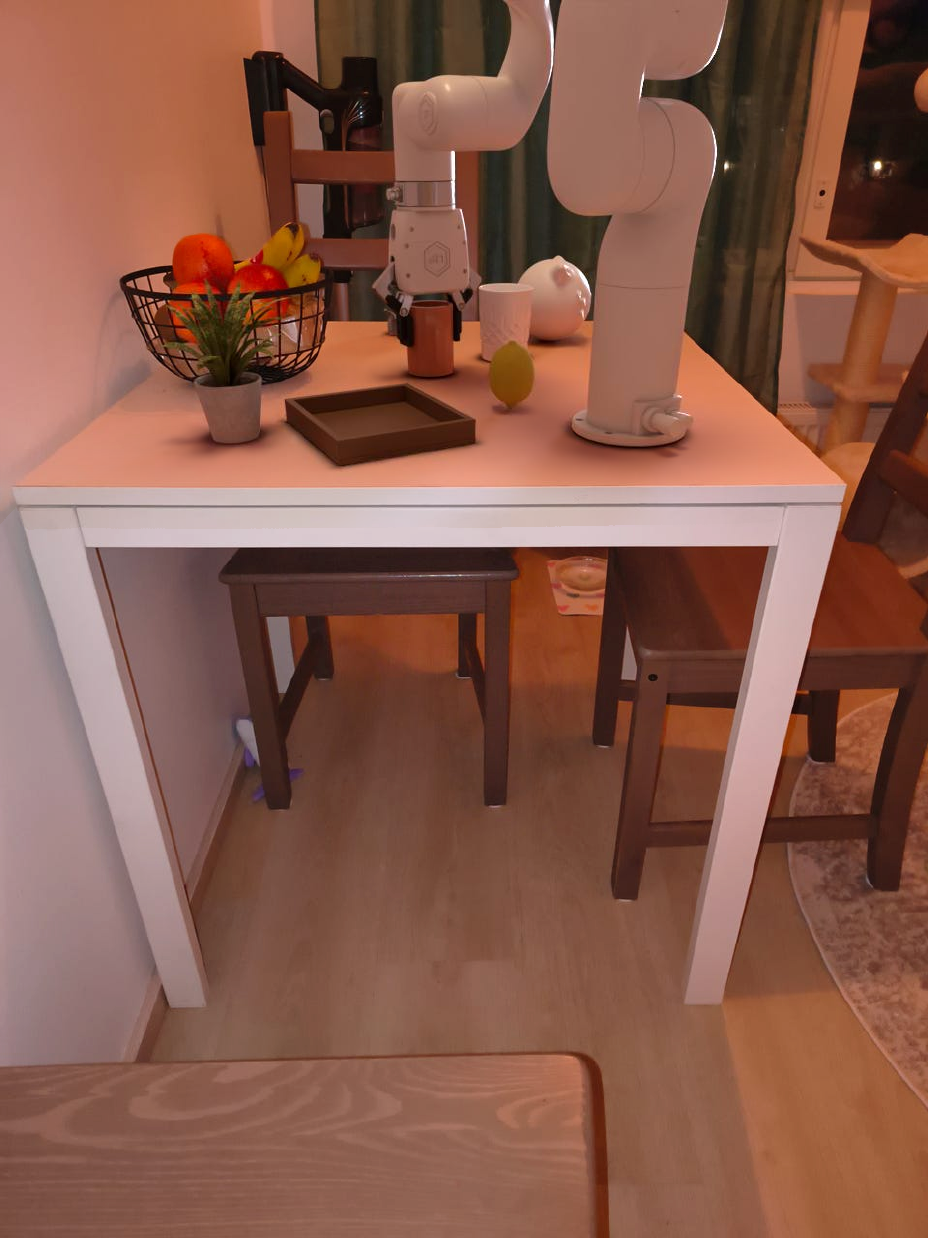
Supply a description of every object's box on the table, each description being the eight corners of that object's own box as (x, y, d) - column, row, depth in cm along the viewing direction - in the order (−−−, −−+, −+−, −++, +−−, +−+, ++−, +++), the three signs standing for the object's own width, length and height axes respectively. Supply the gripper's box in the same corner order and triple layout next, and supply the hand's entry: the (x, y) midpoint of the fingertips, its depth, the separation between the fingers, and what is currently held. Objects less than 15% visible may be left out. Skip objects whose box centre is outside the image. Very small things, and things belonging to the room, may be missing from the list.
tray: (475, 442, 89) (475, 419, 88) (339, 466, 83) (337, 440, 82) (408, 403, 103) (407, 382, 101) (286, 420, 96) (284, 398, 95)
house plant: (287, 461, 84) (268, 290, 76) (153, 460, 84) (119, 290, 76) (312, 420, 96) (298, 270, 88) (195, 420, 97) (170, 270, 89)
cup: (461, 373, 115) (460, 304, 111) (419, 378, 112) (417, 308, 108) (441, 364, 120) (439, 298, 116) (400, 369, 117) (397, 302, 113)
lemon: (482, 412, 99) (482, 343, 95) (496, 400, 104) (497, 334, 100) (526, 416, 98) (528, 346, 94) (538, 404, 102) (541, 337, 98)
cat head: (508, 330, 143) (510, 253, 137) (584, 331, 142) (590, 253, 136) (507, 349, 130) (509, 264, 124) (591, 349, 129) (597, 265, 123)
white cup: (531, 352, 128) (533, 283, 123) (529, 364, 121) (532, 291, 116) (480, 351, 128) (480, 282, 123) (475, 363, 121) (476, 290, 116)
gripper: (374, 200, 99) (382, 354, 108) (499, 196, 106) (497, 340, 115) (351, 198, 105) (361, 344, 114) (471, 194, 112) (472, 332, 121)
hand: (430, 341), depth 114 cm, fingers closed on cup, 6 cm apart
